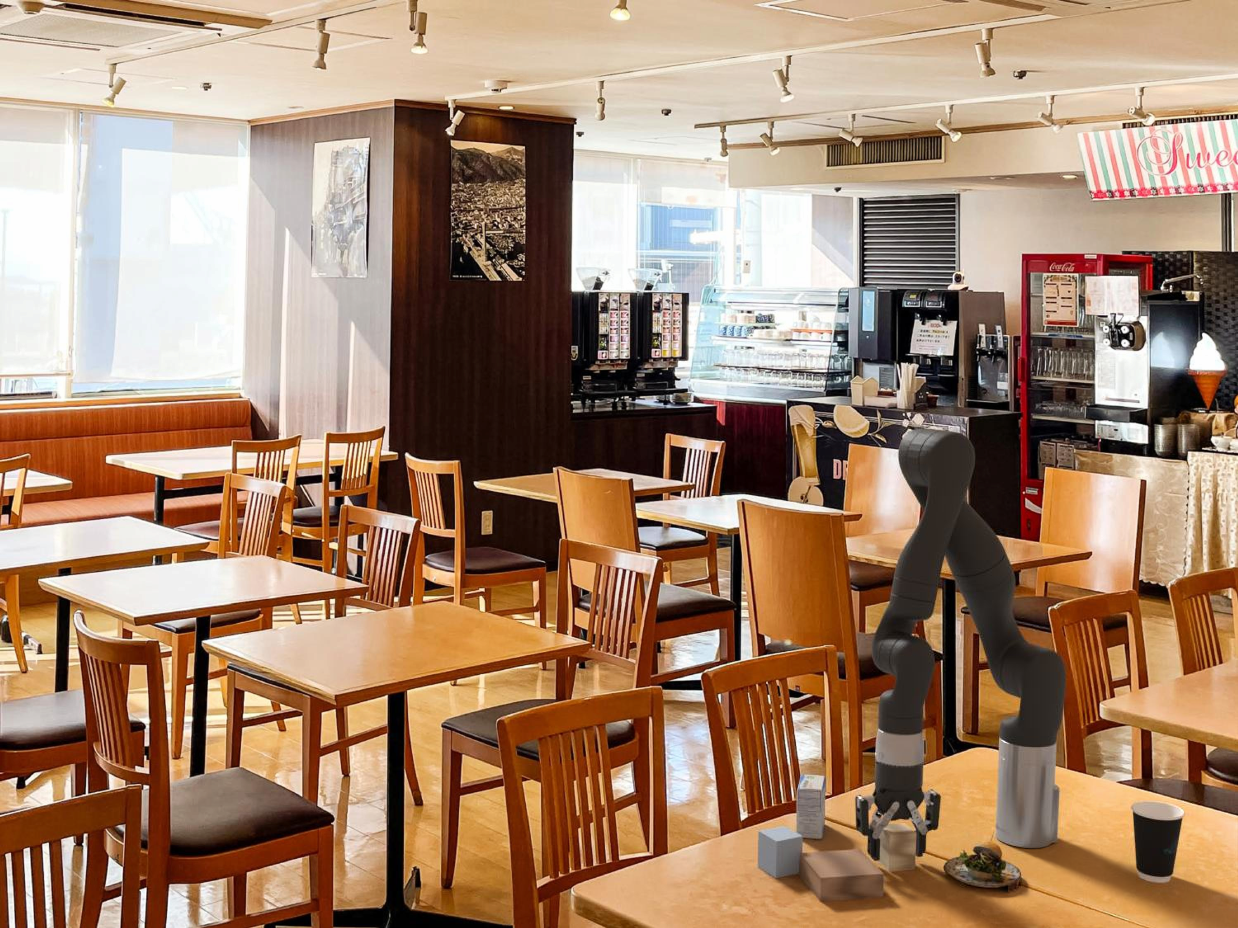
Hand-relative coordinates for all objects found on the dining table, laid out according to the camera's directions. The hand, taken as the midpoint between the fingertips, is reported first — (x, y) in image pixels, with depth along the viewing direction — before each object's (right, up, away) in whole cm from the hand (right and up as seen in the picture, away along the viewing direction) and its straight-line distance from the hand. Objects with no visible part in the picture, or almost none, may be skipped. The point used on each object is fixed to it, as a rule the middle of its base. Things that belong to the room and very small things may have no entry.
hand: (896, 856), depth 224 cm
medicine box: (-12, 0, +15) cm, 19 cm away
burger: (+13, -2, -5) cm, 14 cm away
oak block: (0, -1, 0) cm, 1 cm away
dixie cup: (+40, -2, -4) cm, 40 cm away
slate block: (-19, -1, -2) cm, 19 cm away
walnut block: (-10, -2, -8) cm, 14 cm away
